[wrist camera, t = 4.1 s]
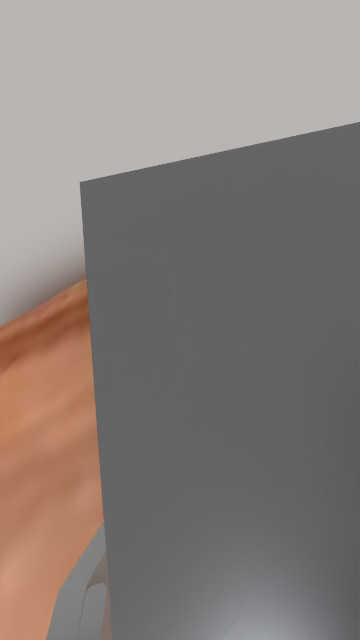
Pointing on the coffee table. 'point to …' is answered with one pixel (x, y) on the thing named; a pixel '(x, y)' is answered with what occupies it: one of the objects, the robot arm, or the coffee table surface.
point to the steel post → (230, 390)
